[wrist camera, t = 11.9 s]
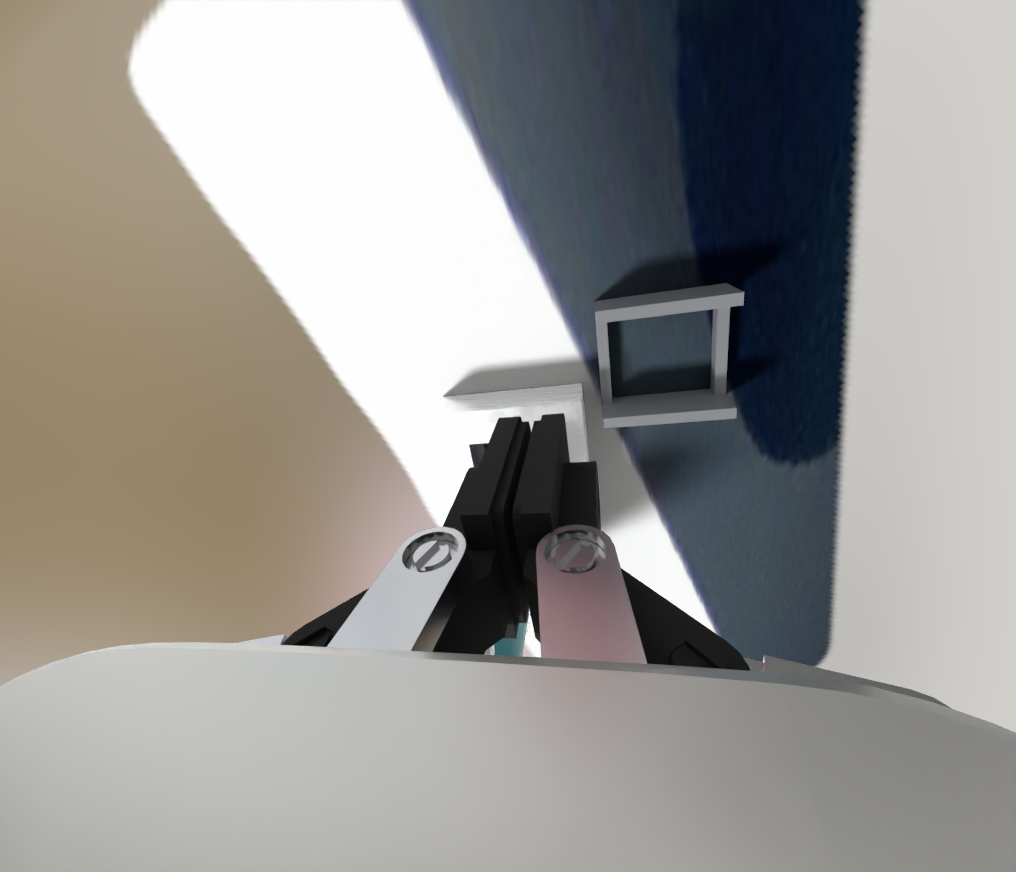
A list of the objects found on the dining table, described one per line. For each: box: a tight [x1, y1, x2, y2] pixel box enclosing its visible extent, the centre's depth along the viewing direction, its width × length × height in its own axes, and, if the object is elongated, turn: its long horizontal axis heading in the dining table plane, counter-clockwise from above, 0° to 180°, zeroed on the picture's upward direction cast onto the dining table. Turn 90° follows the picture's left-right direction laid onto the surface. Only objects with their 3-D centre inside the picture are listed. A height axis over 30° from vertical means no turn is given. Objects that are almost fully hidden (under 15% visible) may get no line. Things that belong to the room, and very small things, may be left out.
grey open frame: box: [594, 283, 744, 428], centre depth 32 cm, size 9×9×4 cm
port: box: [428, 383, 589, 507], centre depth 38 cm, size 12×12×5 cm
